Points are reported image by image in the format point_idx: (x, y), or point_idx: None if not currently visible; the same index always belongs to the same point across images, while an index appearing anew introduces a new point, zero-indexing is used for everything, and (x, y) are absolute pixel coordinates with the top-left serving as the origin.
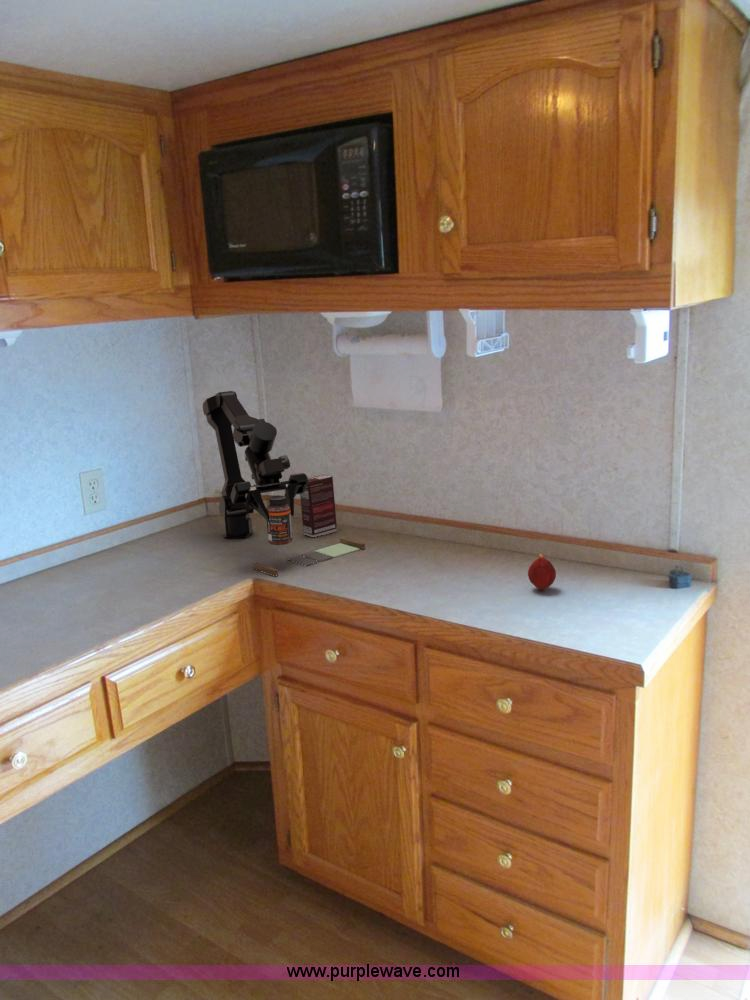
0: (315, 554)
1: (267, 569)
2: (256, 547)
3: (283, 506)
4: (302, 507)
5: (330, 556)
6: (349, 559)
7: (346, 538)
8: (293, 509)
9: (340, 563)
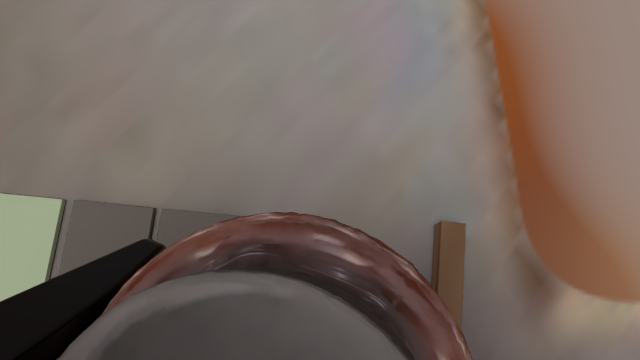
0: None
1: (461, 292)
2: None
3: (279, 254)
4: None
5: (59, 227)
6: (47, 118)
7: None
8: (101, 260)
9: (118, 110)
